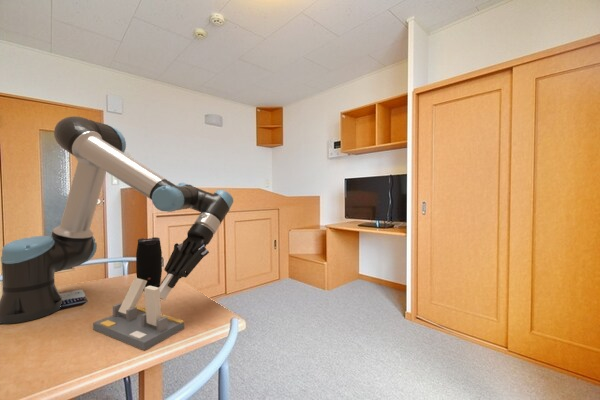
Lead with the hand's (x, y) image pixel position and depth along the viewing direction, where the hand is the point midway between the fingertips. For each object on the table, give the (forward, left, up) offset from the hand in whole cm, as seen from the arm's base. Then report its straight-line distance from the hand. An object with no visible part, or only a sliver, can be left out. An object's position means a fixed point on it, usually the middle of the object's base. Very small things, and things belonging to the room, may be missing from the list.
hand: (159, 297), depth 76 cm
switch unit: (-7, -2, -10) cm, 12 cm away
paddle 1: (-13, -2, -7) cm, 15 cm away
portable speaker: (-35, +21, -10) cm, 42 cm away
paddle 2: (0, -2, -7) cm, 7 cm away
